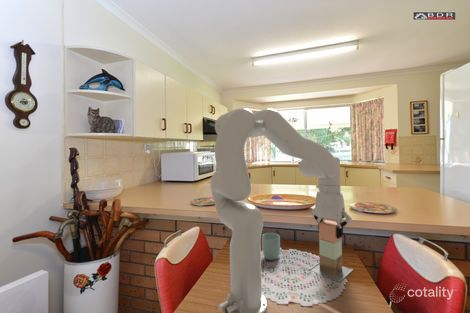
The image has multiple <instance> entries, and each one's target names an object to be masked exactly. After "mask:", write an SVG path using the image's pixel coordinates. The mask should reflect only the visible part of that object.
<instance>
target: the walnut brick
mask: <svg viewBox="0 0 470 313" xmlns="http://www.w3.org/2000/svg"><path fill="white" fill-rule="evenodd" d="M319 261H320V270H322V271H324V272H327V273H329V274H332V275H334V276H336V275H337V274H338V273H339V272H340V271H342V266H343V254H342V255H341V256H339V257H338V258H337V259H335V260H334V259H331V258H328V257H325V256H323V255H320V254H319Z"/></svg>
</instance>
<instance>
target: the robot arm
mask: <svg viewBox="0 0 470 313" xmlns="http://www.w3.org/2000/svg"><path fill="white" fill-rule="evenodd" d="M214 131H215V133H216V134H217V138H216V140H215V143H214V144H215V145H214V155H215V162H216V168H217V169H216V170H215V171H214V173H212V176H211V178H210V190H211V194H212V198H213V203H214V206H215V211H216V213H217V216H218V219H219V220H220V222H221V223H222V224H224V226H226V227H228V228H229V229H230V230H231V231H232V234H231V238H230V241H229V242H230V244H229V270H230V272H229V273H230V276H229V277H230V292H228V294H227V298H226V300H224V301H223V302H221V303H219V304H218V305H217V308H218V311H219V312H220V313H221V312H224V311H225V310H226V311H227V313H266V311H267V307H268V301H267V298H266V296H265V295H264V294H263V292H262V289H263V288H262V286H263V285H262V255H261V254H262V252H261V251H262V250H261V248H262V247H261V245H262V235H263V234H262V233H263V228H264V217H263V214H262V212H261V211H260V209H259V208H258V207H257V206H255V205H253V204H251V203H250V202H246V201H245V200H247V198H249V196H250V195H251V193H252V184H251V180H250V178H251V177H250V176H249V175H250V174H249V170H248V166H247V162H246V157H245V145H246V142H247V140H248V138H255V137H262V136H263V137H265V138H266V139H267V140H268V141H269V142H270V143H271V144H273V145H274V146H275V147H276V148H277V150H279V151H281V153H282V154H285V155H286V156H289V157H291V158H292V157H293V158H295V159H300V162H299V164H298V170H299V172H300V173H301V174H302V175H303V176H306V177H309V178H318V184H316V186H315V187H316V189H318V191H317V192H316V196H315V202H314V203H315V204H314V208H312V209H311V211H310V214H311V215H312V217H313V218H314V220H315V221H316V223H317V228H318V229H317V230H318V231H319V223H321V222H323V221H324V220H329V221H333V222H336V223H337V225H338V228H337V238H338V239H339V238H341V237H342V238H343V237H344V227H345V226H346V225H348V224H349V223H350V222H351V221H353V219H352V217H351V216H350V215H349V214H348V213H347V212H346V210H345V209H346V208H345V200H344V196H343V193H342V192H341V160H340V158H339V157H338V156H337V157H336V156H334V155H333V154H332V153H331V152H330V151H329V150H328V148H326V147H324V146H323V145H322V144H320V143H318V142H315V141H314V140H312V139H310V138H308V137H306V136H303V135H301V134H300V133H299V132H298V130H296V129H295V128H294V127H293V125H292V124H290V122H288V121H287V119H286V118H284V116H282V114H281V113H279V111H278V110H276V109H273V108H265V109H261V110H257V111H255V112H253V111H252V110H251V109H249V108H247V107H241V108H236V109H233V110H231V111H229V112H226V113H224V114H221V115H220V116H219V117H217V119H216V120H215V123H214ZM343 219H345V220H344V221H343Z"/></svg>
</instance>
